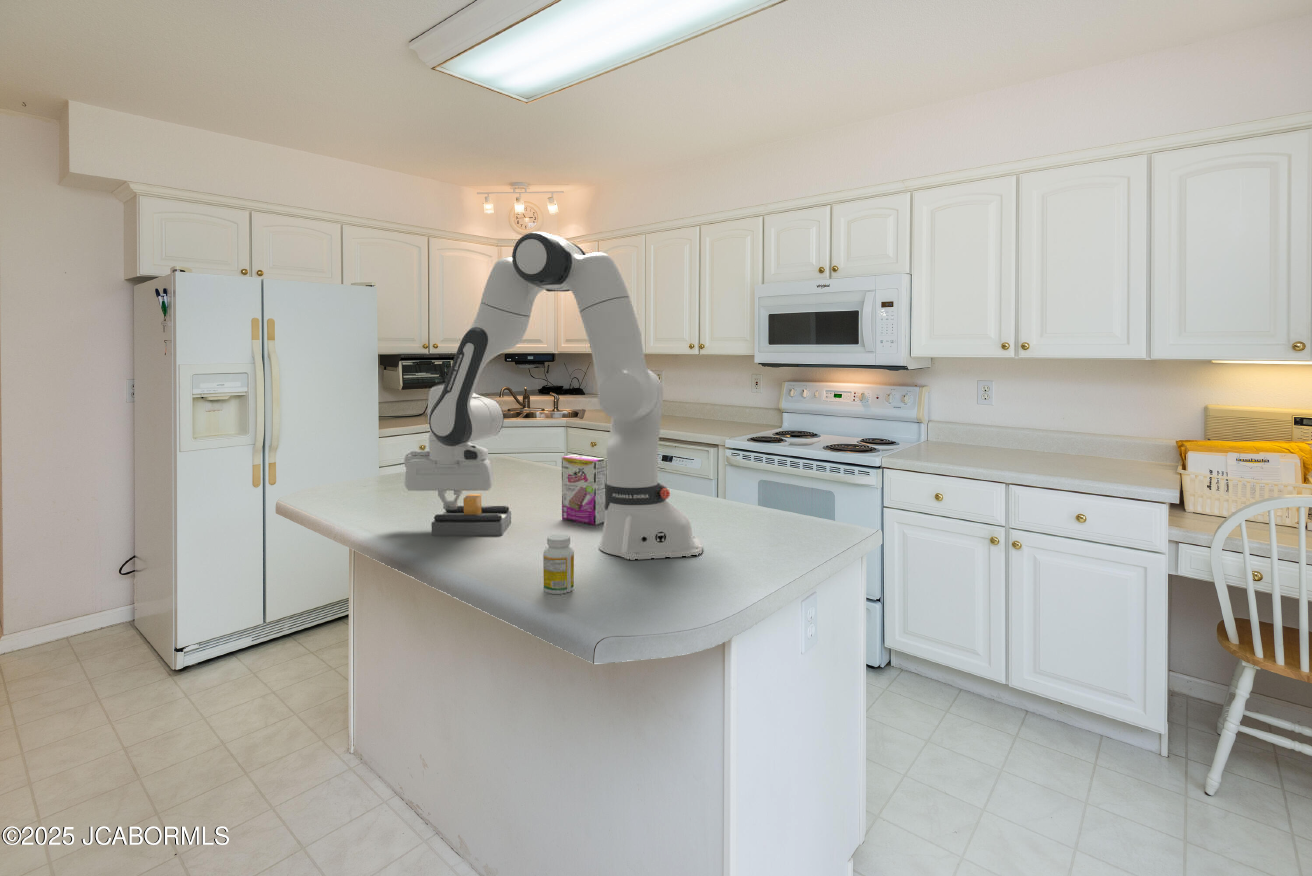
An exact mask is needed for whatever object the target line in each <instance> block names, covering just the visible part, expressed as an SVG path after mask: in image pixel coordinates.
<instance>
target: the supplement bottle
mask: <svg viewBox="0 0 1312 876" xmlns="http://www.w3.org/2000/svg"><path fill="white" fill-rule="evenodd" d="M546 540H547V541H546V544H547V546H548V547H546V548H545V549H544V550H543V552H542V553H543V555H542V557H543V558H542V559H543V563H542V564H543V568H542V569H543V576H542V577H543V590H544V592H546V593H547V594H549V593H550V595H565V594H568V593H567V592H569V593H570V591H571V592H572V591H573V590H574V587H575V579H574V578H575V576H574V575H575V552H574V549H573V548H572V547H571V546H570V545H571V536H570V535H569V534H567V533H566V534H564V533H553V534H550V535H548V536H547V539H546ZM564 593H565V594H564Z"/></svg>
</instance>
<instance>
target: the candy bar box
mask: <svg viewBox="0 0 1312 876" xmlns="http://www.w3.org/2000/svg"><path fill="white" fill-rule="evenodd" d="M606 482H607V458H602V457H595V456H587V455H579V454H570V455H563V456H562V457H561V519H562V520H566V521H571V522H576V523H582V524H587V525H592V526H598V525H601V524H604V520H605V507H604V487H605V483H606Z"/></svg>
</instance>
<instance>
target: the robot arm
mask: <svg viewBox="0 0 1312 876" xmlns="http://www.w3.org/2000/svg"><path fill="white" fill-rule="evenodd" d="M513 246H514V247H513V249H512V252H511V253H512V254H511V256H509V257H508V256H507V257H502V258H499V259H498V260H497V261H496V262H495V263H494V265H493V267H492V269H491V270H490V273H489V275H488V277H487V280H486V283H485V286H484V289H483V292H482V296H481V299H480V303H479V307H478V310H477V311H476V312H477V313H476V315H475V318H474V320H473V321H472V324H471V326H470V328H469V329H467V332H465V334H464V335H463V337H462V339H461V341H460V343H459V345H458V347H457V349H456V352H455V355H454V358H453V361H452V363H451V365H450V366H451V367H450V369H449V372H448V375H447V376H446V380H445V382H444V383H439V384H436V385H434V386H432V387H431V388H430V390H429V393H428V399H427V400H428V401H427V421H428V425H429V435H428V450H427V451H414V450H413V451H410V452H409V453H407V454H406V455H405V456H404V467H405V474H404V475H405V476H404V486H405V489H406V490H407V491H410V492H412V491H413V492H415V491H416V492H420V491H422V492H423V491H425V492H427V491H428V492H431V491H434V492H435V491H437V496H438V497H439V499H440V501H441V502H442V503H443V504H442V505H443V506H442V507H443V508H442V509H443V510H445V509H457V507H458V506H459V505H458V504H459V503H458V501H459V500H460V498H461V496H462V494H463V492H464V491H465V492H467V491H470V492H471V491H473V492H474V491H481V492H482V491H484V492H485V491H490V490H491V489H492V488H493V486H494V484H495V482H494V471H493V465H492V463H491V461H490V460H489V459H488V458H487V457H488V456H489V450H488V448H485V447H482V446H480V445H476V444H474V443H473V444H472V443H471V442H476V441H480V440H485V439H489V438H492V437H494V436H496V435H498V434H499V433H500V432H501V430H502V429H503V425H504V422H505V421H504V417H505V416H504V412H503V409H502V407H501V406H500V404H499V403H498V402H497V401H496V400H494V399H492V398H488V397H485V396H482V395H480V394H477V393H475V389H476V386H477V384H478V381H479V379H480V375H481V374H482V371H483V369H484V368H485V366H486V365H487V364H488V363H489V362H490V360H492V359H494V358H495V357H497V356H498V355H500V354H501V353H504V352H506V351H509V350H511V349H513V348H514V347H516V346H517V345H519V344H521V341H522V340H523V338H524V336H525V334H526V333H527V329H528V328H529V327H528V326H529V324H530V318H531V314H532V310H533V307H534V303H535V301H536V298H537V297H538V295H539V293H541V292H543V291H546V292H550V293H551V292H553V293H554V292H561V293H562V292H571V293H572V295H573V297H574V299H575V301H576V305H577V308H578V312H579V314H580V318H581V321H582V324H583V328H584V330H585V333H586V337H587V341H588V344H589V348H590V351H591V356H592V361H593V368H594V374H595V375H594V377H595V380H596V385H597V400H598V404H599V406H600V408H601V409H602V411H603V412H604V413H605V414H606V415H607V416H609V417H610V418H611V423H610V430H609V436H608V441H607V445H606V459H607V482H606V483H605V487H604V507H605V520H604V523H603V528H602V533H601V536H600V537H601V538H600V541H599V545H598V549H599V550H600V551H602V552H603V553H606V554H610V555H612V556H613V555H614V556H618V557H622V558H623V559H625V560H629V559H630V561H636V560H635V559H638V560H651V558H654V559H666V558H665V557H670V558H682V556H686V557H692V556H691V555H697V554H699V553H700V552H701V553H703V550H702V548H703V543H702V541H701V539H700V538H698V537H696V536H695V535H693V530H692V529H693V528H692V525H691V522H690V520H689V518H688V517H687V515H686V514H684V513H683V512H682V511H680V510H679V509H678V508H676V507H675V506H674V505H673V504H671V503H670V502H669V501H667V499H669V497H670V495H671V492H670V489H668V488H667V486H665V485H664V484H661V483H660V482H658V481H659V480H658V479H659V478H658V473H659V466H658V465H659V464H658V463H659V442H660V434H661V425H662V413H663V399H664V388H663V384H662V381H661V380H660V378H659V377H658V375H657V374H655V372H653V371H652V370H650V369H648V367H647V363H646V359H645V353H644V348H643V343H642V333H641V330H640V325H639V323H638V320H637V317H636V313H635V310H634V307H633V303H632V301H631V298H630V294H629V292H628V287H627V286H626V283H625V281H624V279H623V276H622V274H621V272H620V270H619V267H617V264H616V262H615V261H614V259H613V258H612V257H611V256H610V255H609V254H607V253H603V252H590V253H585V251H584V250H583V249H582V248H581V247H580V246H579V245H577V244H575V243H573V242H570V241H568V240H567V239H565V238H563V237H561V236H558V235H553V234H550V233H547V232H545V231H533V232H528V233H525V234H524V235H522V236H521V237H520V238H519V239H518V240H517V241H516V242H515V243H514V245H513ZM450 491H451V492H452V491H453V496H455V497H454V499H453V500H448V497H447V496H446V494H447V492H450ZM701 553H700V554H701ZM700 554H699V555H700ZM697 556H698V555H697Z"/></svg>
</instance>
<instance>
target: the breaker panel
mask: <svg viewBox="0 0 1312 876" xmlns="http://www.w3.org/2000/svg"><path fill="white" fill-rule="evenodd" d="M481 511H482V512H481V513H480V514H464V505H458V507H457V509H444V512H443V513H442V514H439V513H437V514H435V515H434V517H433V521H432V522H431V525H430V527H431V536H441V535H442V536H445V537H446V536H453V537H454V536H457V537H458V536H459V537H460V536H463V537H465V536H467V537H468V536H470V537H471V536H473V537H474V536H504V535H503V534H504V533H505V532H506V530H507V529H508V528H509V527H510V525H511V524H512V511H511V510H510V507H509V506H508V505H481Z"/></svg>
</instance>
